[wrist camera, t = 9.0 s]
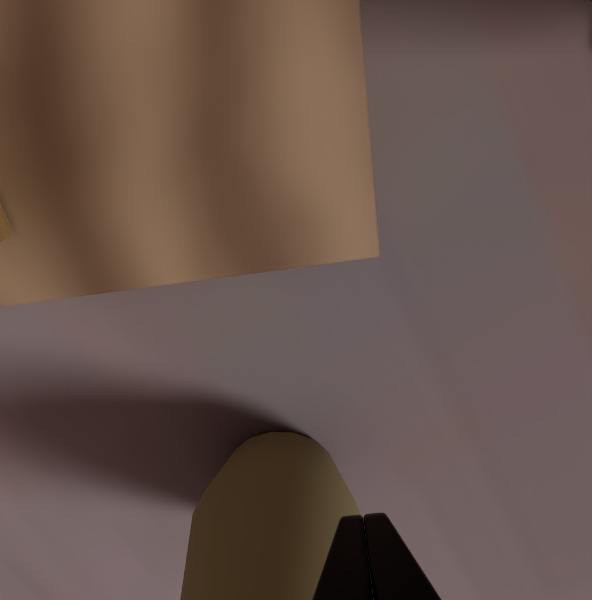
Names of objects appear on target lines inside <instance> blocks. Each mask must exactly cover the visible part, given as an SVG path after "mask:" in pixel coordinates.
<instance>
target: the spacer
mask: <svg viewBox="0 0 592 600" xmlns="http://www.w3.org/2000/svg"><path fill="white" fill-rule="evenodd" d="M13 235H14V234H13V232H12V229H11V227H10V224H9V222H8V220H7V217H6V215H5V212H4V210H3V207H2V205H1V203H0V242H2V241H4V240H6V239H7V238H9V237H11V236H13Z"/></svg>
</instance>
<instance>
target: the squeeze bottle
mask: <svg viewBox="0 0 592 600" xmlns="http://www.w3.org/2000/svg"><path fill="white" fill-rule="evenodd" d="M349 515H361V514H360V512H359V510H358V507H357V505H356V503H355V501H354V499H353V496H352V495H351V493H350V491H349V489H348V487H347V485H346V484H345V482H344V480H343V478H342V476H341V474H340V473H339V471H338V469H337V467H336V465H335V463H334V462H333V460H332V458H331V456H330V454H329V453H328V452H327V451H326V450H325V449H324V448H323V447H321V446H320V445H319V444H318V443H317V442H315V441H314V440H313V439H310V438H307V437H304V436H302V435H299V434H296V433H293V432H268V433H265V434H261V435H258V436H255V437H251V438H249V439H248V440H247V441H245V442H244V443H243V444H242V445H240V446H239V447H238V448H236V449H235V450H234V452H233V453H232V454H231V456H230V457H229V458H228V460H227V461H226V462H225V464H224V465H223V466H222V468H221V469H220V471H219V472H218V473H217V475H216V476H215V477H214V479H213V480H212V481H211V483H210V484H209V485H208V487H207V488H206V489H205V491H204V492H203V494H202V497H201V499H200V501H199V503H198V505H197V507H196V509H195V511H194V513H193V516H192V523H191V530H190V537H189V544H188V551H187V558H186V565H185V572H184V579H183V586H182V593H181V600H312V599H313V596H314V593H315V590H316V587H317V584H318V581H319V578H320V575H321V572H322V570H323V567H324V564H325V561H326V558H327V555H328V552H329V549H330V546H331V543H332V541H333V538H334V535H335V532H336V529H337V526H338V523H339V520H340V519H341V517H343V516H349Z"/></svg>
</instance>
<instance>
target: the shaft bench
mask: <svg viewBox="0 0 592 600" xmlns="http://www.w3.org/2000/svg"><path fill="white" fill-rule="evenodd" d="M0 203H1V205H2V207H3V210H4V212H5V215H6V217H7V220H8V222H9V224H10V227H11V229H12V232H13V234H14V235H13V236H11V237H9V238H7V239H6V240H4V241H2V242H0V307H1V306H9V305H16V304H24V303H31V302H39V301H47V300H54V299H62V298H69V297H77V296H85V295H92V294H100V293H107V292H115V291H123V290H130V289H138V288H145V287H153V286H161V285H168V284H176V283H183V282H191V281H199V280H206V279H214V278H221V277H229V276H237V275H244V274H252V273H260V272H267V271H275V270H282V269H290V268H298V267H305V266H313V265H320V264H328V263H336V262H343V261H351V260H358V259H366V258H374V257H380V256H379V244H378V231H377V218H376V206H375V193H374V181H373V168H372V155H371V143H370V130H369V117H368V105H367V92H366V80H365V67H364V54H363V42H362V29H361V16H360V4H359V0H0Z"/></svg>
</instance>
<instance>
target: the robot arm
mask: <svg viewBox="0 0 592 600" xmlns="http://www.w3.org/2000/svg"><path fill="white" fill-rule="evenodd" d="M364 527H365V529H364ZM365 535H366V537H365ZM366 543H367V545H366ZM367 551H368V552H367ZM368 559H369V560H368ZM369 566H370V568H369ZM370 574H371V576H370ZM371 582H372V584H371ZM372 590H373V592H372ZM373 598H374V600H441V598H440V597H439V595H438V594H437V592H436V591H435V589H434V588H433V586H432V584H431V583H430V581H429V580H428V578H427V577H426V575H425V574H424V572H423V571H422V569H421V567H420V566H419V564H418V563H417V561H416V560H415V558H414V557H413V555H412V554H411V552H410V550H409V549H408V547H407V546H406V544H405V543H404V541H403V540H402V538H401V537H400V535H399V533H398V532H397V530H396V529H395V527H394V526H393V524H392V523H391V521H390V520H389V518H388V517H387V515H386V514H384V513H372V514H366V515H364V521H363V517H362V516H361V515H349V516H343V517H341V519H340V520H339V523H338V526H337V529H336V532H335V535H334V538H333V541H332V543H331V546H330V549H329V552H328V555H327V558H326V561H325V564H324V567H323V570H322V572H321V575H320V578H319V581H318V584H317V587H316V590H315V593H314V596H313V599H312V600H373Z"/></svg>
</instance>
